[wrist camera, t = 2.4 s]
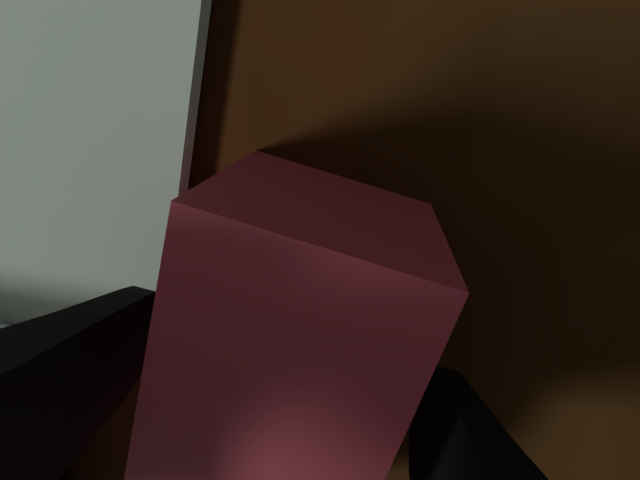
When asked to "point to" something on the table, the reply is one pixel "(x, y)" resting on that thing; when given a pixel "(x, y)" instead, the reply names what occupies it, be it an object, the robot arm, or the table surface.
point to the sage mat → (92, 143)
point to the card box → (290, 327)
